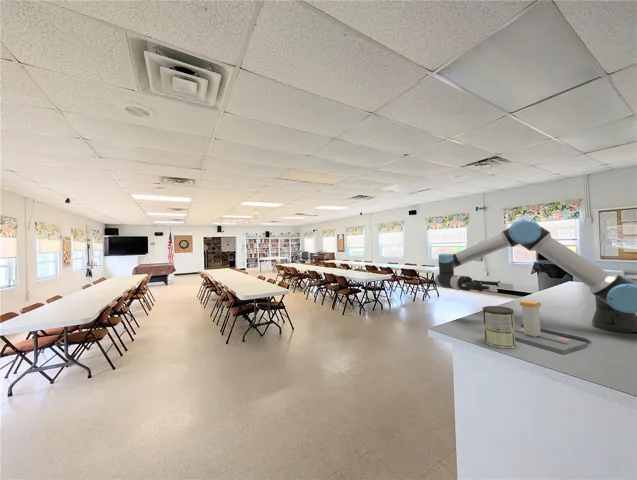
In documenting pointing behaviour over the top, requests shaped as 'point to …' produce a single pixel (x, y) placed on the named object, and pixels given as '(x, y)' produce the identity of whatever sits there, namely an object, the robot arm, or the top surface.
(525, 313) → the breaker handle
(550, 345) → the switch panel
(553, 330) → the grey flat bar
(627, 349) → the top surface
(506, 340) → the coffee can
